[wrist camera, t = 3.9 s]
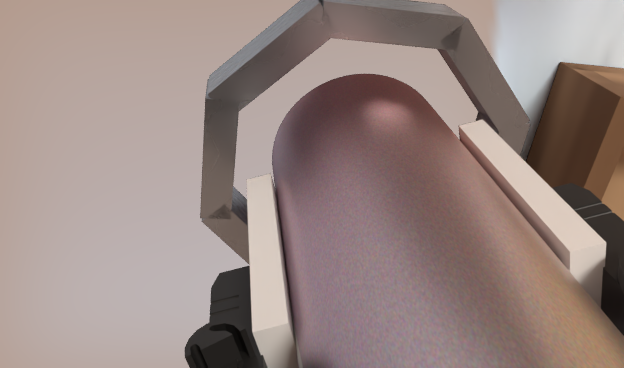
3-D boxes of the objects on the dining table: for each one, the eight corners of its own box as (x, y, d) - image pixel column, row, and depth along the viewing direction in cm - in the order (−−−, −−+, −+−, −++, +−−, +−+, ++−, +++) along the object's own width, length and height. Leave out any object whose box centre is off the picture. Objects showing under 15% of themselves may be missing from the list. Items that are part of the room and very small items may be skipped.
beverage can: (450, 187, 21) (785, 677, 8) (303, 239, 22) (406, 787, 9) (413, 40, 18) (843, 445, 5) (245, 104, 19) (266, 625, 6)
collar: (199, 262, 22) (197, 292, 20) (212, -23, 17) (210, -12, 15) (455, 270, 23) (471, 299, 22) (534, 15, 19) (562, 28, 17)
